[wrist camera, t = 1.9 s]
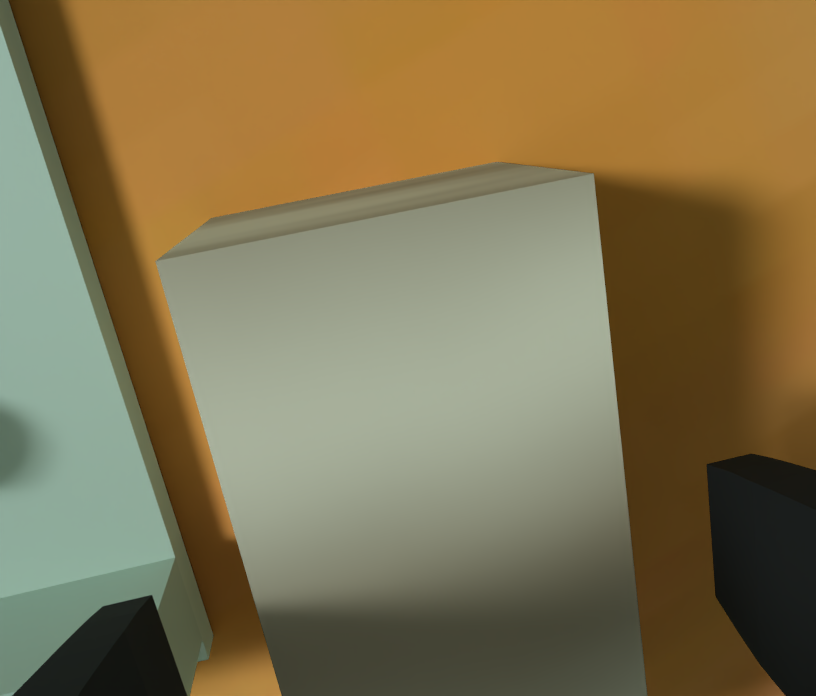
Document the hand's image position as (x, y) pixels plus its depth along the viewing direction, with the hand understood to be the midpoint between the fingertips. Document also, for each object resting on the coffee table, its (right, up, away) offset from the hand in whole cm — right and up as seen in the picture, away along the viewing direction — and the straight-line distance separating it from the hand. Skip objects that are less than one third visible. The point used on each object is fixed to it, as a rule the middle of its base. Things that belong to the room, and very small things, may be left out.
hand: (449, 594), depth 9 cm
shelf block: (0, +1, +3) cm, 4 cm away
